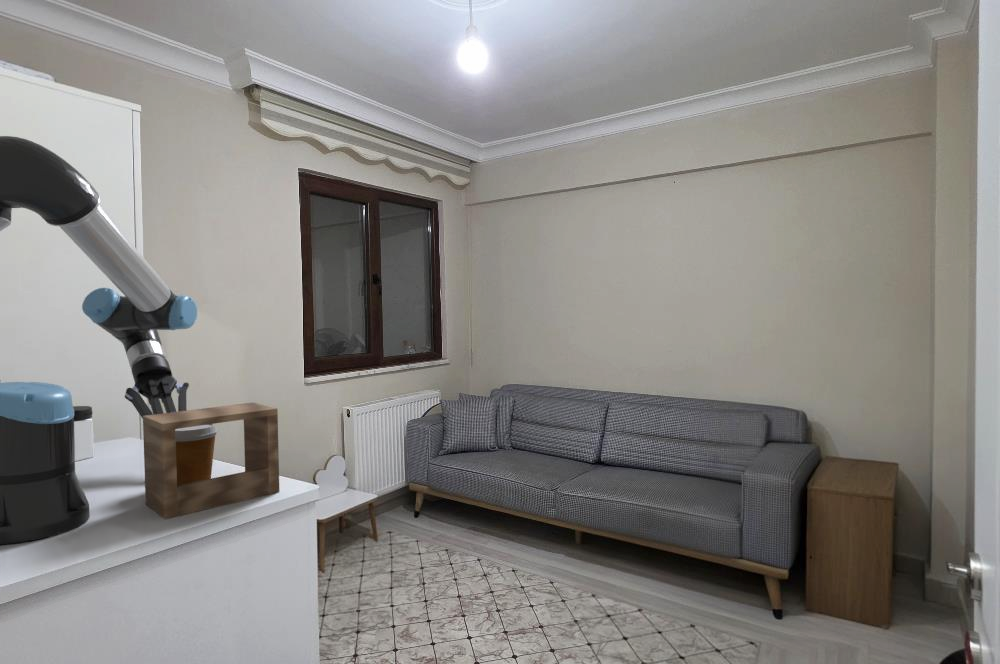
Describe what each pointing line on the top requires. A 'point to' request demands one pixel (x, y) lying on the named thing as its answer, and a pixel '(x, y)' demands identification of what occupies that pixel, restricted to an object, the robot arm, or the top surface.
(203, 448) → the disposable coffee cup
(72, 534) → the top surface
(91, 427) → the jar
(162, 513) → the walnut shelf
